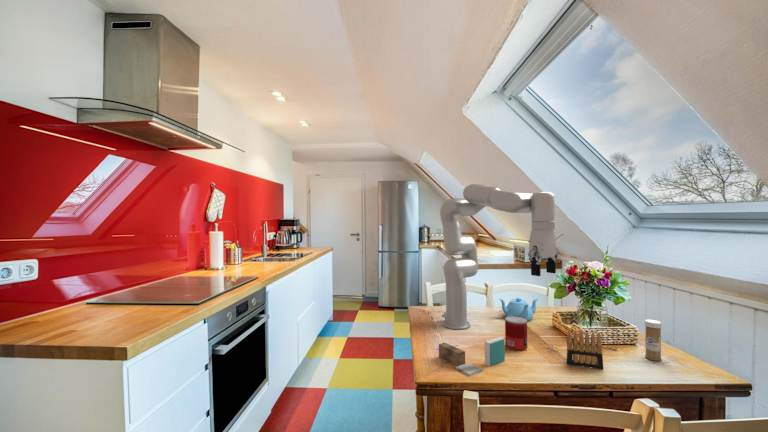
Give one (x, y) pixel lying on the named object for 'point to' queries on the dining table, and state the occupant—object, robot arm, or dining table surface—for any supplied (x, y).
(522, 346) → the canned food
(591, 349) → the ammunition clip
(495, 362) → the tile
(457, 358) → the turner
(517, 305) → the teapot
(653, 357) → the sprinkles bottle
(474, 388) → the dining table surface
